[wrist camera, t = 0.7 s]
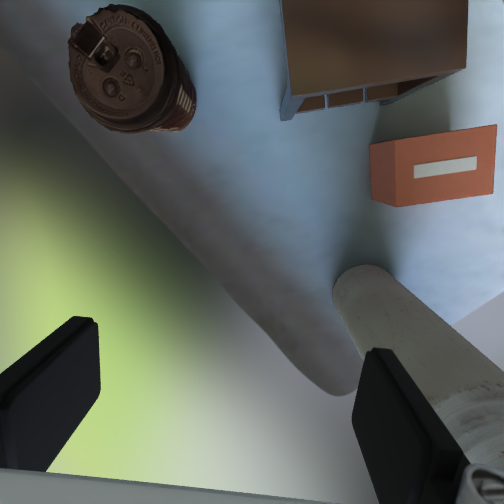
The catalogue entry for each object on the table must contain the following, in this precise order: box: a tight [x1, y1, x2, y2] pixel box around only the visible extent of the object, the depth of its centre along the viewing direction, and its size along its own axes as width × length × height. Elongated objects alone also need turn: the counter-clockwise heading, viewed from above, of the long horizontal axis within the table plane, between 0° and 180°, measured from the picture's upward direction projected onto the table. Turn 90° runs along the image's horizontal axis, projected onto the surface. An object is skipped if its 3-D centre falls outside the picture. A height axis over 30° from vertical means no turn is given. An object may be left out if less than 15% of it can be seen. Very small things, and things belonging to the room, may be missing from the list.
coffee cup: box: [68, 4, 197, 134], centre depth 28 cm, size 9×8×13 cm
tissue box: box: [369, 124, 497, 207], centre depth 32 cm, size 6×9×7 cm
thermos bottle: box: [333, 264, 504, 472], centre depth 26 cm, size 8×8×28 cm
